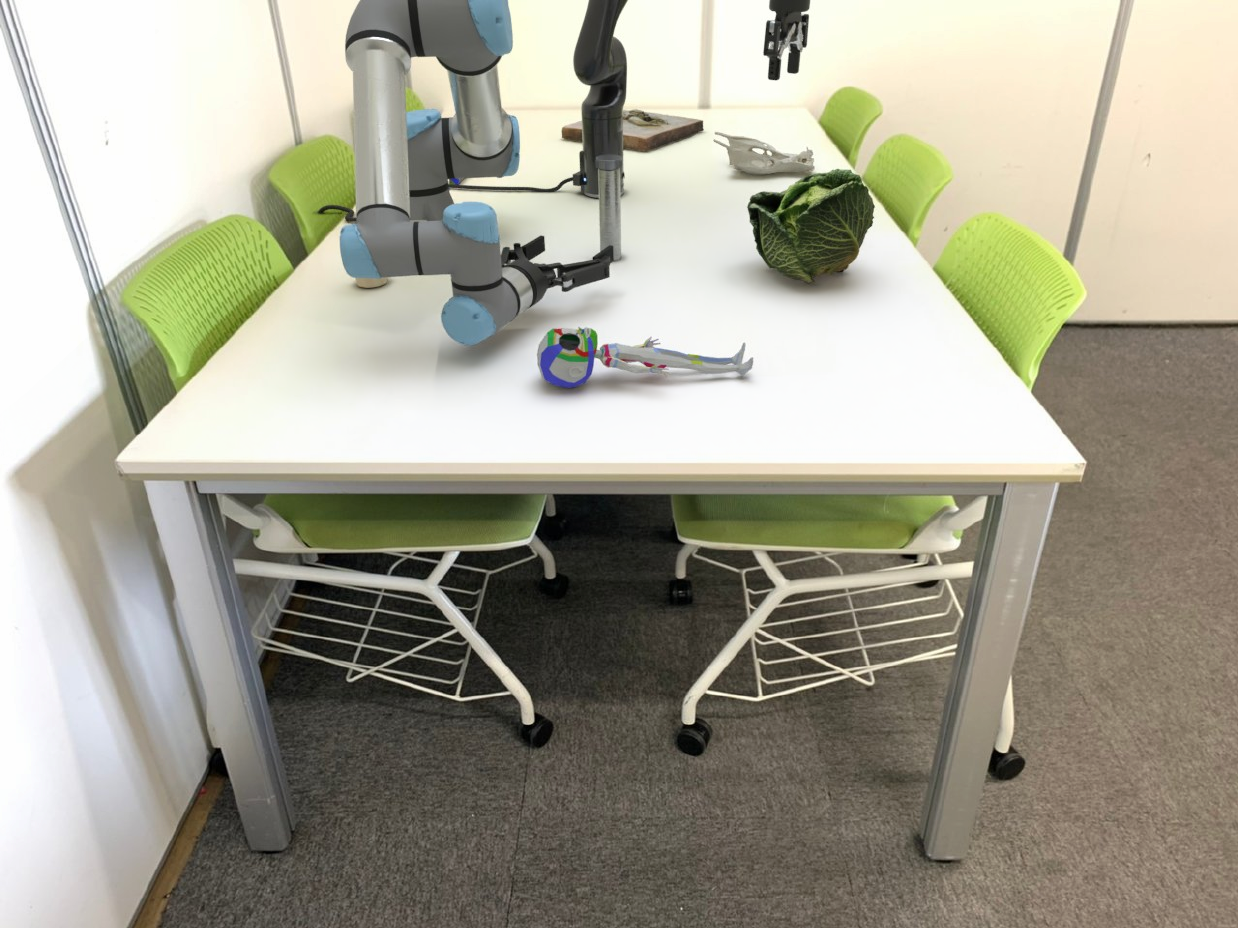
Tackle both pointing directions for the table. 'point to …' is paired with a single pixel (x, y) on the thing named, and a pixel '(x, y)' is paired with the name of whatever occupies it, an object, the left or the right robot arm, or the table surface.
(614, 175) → the grey long cylinder
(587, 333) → the toy
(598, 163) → the lid
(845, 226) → the vegetable
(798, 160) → the anatomical model
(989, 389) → the table surface
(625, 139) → the plaque
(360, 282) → the candle
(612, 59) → the right robot arm
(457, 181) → the pillar
